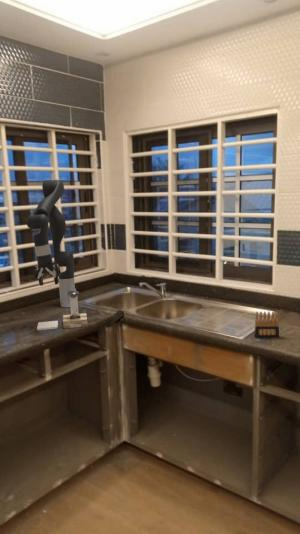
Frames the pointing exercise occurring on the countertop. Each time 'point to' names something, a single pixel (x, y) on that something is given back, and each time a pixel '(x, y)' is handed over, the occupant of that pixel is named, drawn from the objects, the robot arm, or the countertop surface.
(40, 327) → the pad
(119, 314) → the hand tool
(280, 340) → the countertop surface
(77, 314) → the steel hook peg
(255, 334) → the ammunition clip
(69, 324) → the eye block
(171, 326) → the countertop surface
